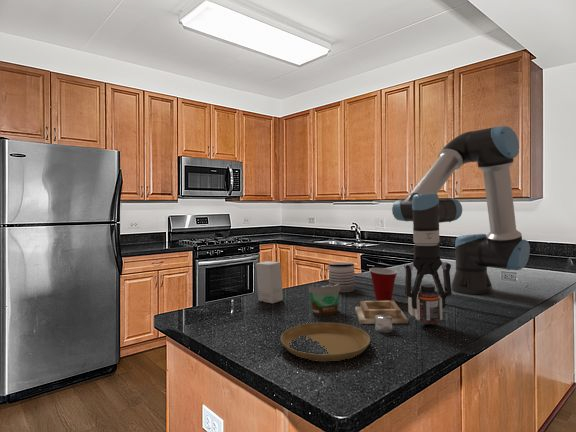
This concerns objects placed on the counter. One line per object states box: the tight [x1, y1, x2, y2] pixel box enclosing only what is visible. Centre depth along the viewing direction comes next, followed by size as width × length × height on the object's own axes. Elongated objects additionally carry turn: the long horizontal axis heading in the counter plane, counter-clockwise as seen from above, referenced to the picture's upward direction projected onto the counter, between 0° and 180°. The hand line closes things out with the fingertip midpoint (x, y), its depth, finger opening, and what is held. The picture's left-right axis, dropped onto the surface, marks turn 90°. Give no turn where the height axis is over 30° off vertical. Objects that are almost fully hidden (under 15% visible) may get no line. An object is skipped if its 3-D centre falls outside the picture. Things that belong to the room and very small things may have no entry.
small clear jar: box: [374, 314, 393, 334], centre depth 114 cm, size 5×5×4 cm
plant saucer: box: [280, 322, 371, 362], centre depth 103 cm, size 24×24×3 cm
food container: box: [308, 282, 341, 317], centre depth 132 cm, size 12×6×10 cm, turn 117°
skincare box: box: [255, 260, 284, 304], centre depth 152 cm, size 8×7×16 cm
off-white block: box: [407, 291, 420, 317], centre depth 128 cm, size 5×5×7 cm
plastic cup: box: [369, 267, 399, 301], centre depth 146 cm, size 11×11×12 cm
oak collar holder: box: [354, 299, 409, 325], centre depth 127 cm, size 15×15×4 cm
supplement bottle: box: [418, 283, 440, 325], centre depth 116 cm, size 6×6×11 cm
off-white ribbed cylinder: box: [328, 262, 356, 293], centre depth 166 cm, size 11×11×12 cm
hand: (428, 318), depth 116 cm, fingers closed on supplement bottle, 6 cm apart
